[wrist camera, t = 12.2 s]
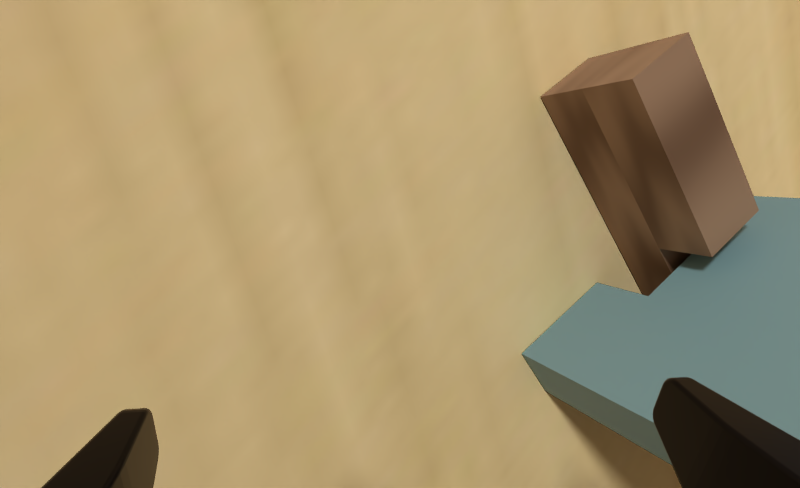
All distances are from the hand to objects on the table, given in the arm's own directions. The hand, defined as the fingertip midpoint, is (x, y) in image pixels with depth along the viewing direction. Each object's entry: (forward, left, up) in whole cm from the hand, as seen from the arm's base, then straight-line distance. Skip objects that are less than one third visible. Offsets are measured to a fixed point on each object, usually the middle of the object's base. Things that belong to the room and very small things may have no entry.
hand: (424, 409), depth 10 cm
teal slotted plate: (+2, -16, -11) cm, 20 cm away
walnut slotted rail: (+4, -17, -11) cm, 21 cm away
